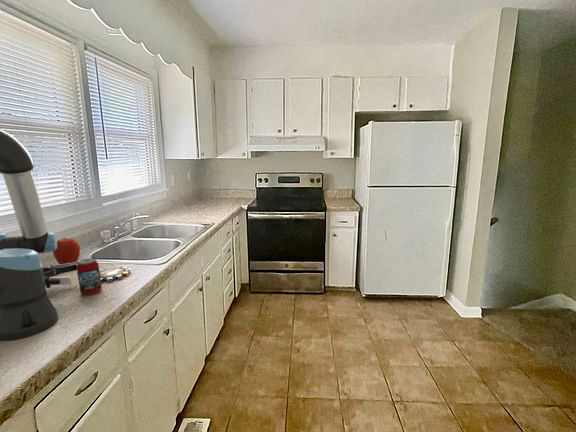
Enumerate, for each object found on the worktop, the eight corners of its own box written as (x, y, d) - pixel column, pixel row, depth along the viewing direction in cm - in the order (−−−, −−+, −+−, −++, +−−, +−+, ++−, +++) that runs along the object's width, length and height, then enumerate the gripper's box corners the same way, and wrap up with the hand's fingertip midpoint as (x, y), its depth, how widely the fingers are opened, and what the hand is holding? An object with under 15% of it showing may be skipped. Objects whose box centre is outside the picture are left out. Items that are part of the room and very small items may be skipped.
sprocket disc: (80, 283, 126) (79, 279, 126) (103, 269, 141) (102, 266, 141) (118, 283, 126) (117, 279, 125) (136, 269, 140) (136, 265, 140)
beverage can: (80, 297, 113) (75, 265, 111) (81, 290, 119) (76, 260, 117) (101, 293, 117) (97, 261, 114) (102, 286, 122) (97, 256, 120)
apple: (56, 270, 141) (51, 240, 139) (54, 265, 149) (49, 236, 146) (84, 265, 148) (79, 236, 145) (80, 260, 155) (75, 232, 153)
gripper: (52, 271, 131) (103, 270, 131) (-3, 299, 107) (60, 297, 106) (49, 254, 130) (101, 253, 129) (-7, 277, 105) (56, 276, 105)
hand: (82, 273), depth 118 cm, fingers open, 13 cm apart
